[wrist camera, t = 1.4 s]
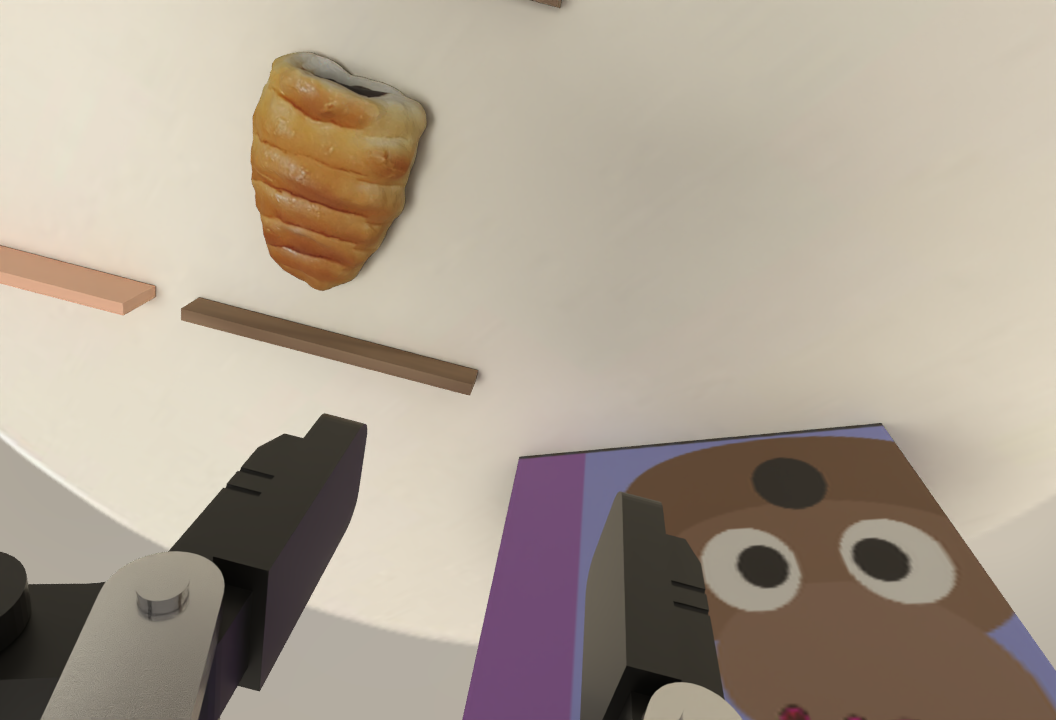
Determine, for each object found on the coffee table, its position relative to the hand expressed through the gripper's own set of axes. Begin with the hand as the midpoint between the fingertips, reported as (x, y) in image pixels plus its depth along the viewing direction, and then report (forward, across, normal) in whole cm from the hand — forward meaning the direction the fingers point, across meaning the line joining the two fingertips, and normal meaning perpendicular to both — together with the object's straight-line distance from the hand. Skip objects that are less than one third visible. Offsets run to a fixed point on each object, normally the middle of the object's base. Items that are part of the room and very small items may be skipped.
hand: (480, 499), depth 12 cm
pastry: (+20, +10, 0) cm, 22 cm away
